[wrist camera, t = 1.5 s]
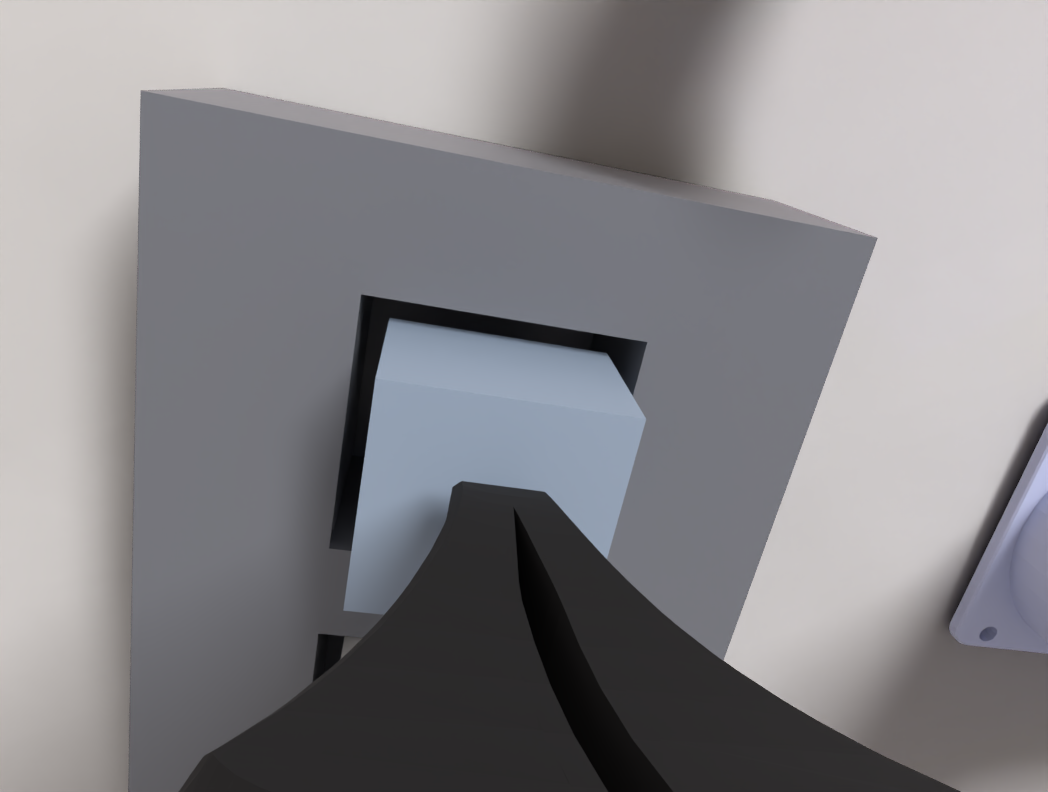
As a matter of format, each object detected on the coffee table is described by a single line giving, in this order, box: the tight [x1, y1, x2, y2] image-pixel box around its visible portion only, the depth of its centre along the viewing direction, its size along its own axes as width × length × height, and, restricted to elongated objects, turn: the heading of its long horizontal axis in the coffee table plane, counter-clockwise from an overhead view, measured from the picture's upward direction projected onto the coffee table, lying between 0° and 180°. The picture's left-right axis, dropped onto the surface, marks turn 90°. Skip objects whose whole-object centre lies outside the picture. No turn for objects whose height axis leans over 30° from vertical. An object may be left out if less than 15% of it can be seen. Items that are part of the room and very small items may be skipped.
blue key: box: [343, 318, 646, 615], centre depth 13 cm, size 4×4×3 cm
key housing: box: [128, 88, 877, 792], centre depth 19 cm, size 12×24×4 cm, turn 169°
